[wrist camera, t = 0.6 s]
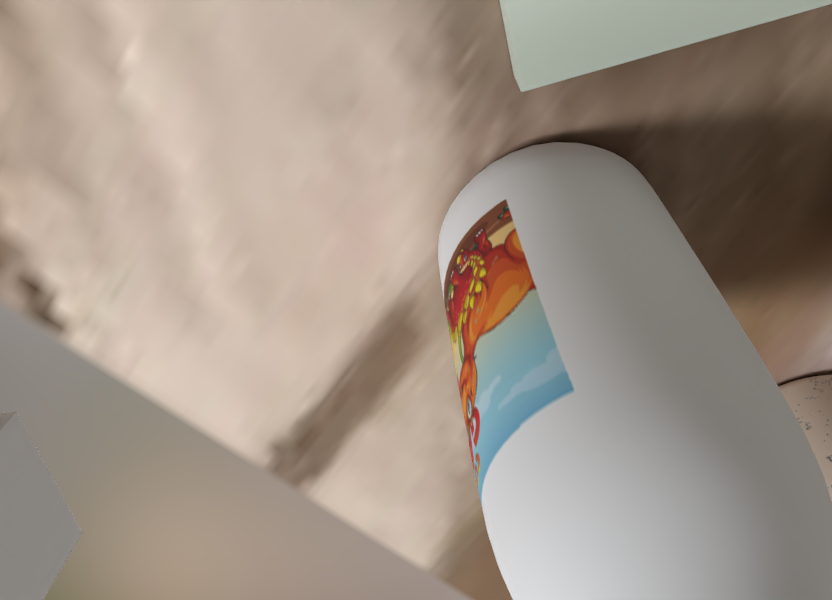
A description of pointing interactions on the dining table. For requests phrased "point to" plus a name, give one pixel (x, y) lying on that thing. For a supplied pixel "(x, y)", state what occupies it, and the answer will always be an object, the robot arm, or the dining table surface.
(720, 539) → the milk bottle
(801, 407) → the teacup with lid
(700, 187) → the dining table surface
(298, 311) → the dining table surface
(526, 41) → the card
